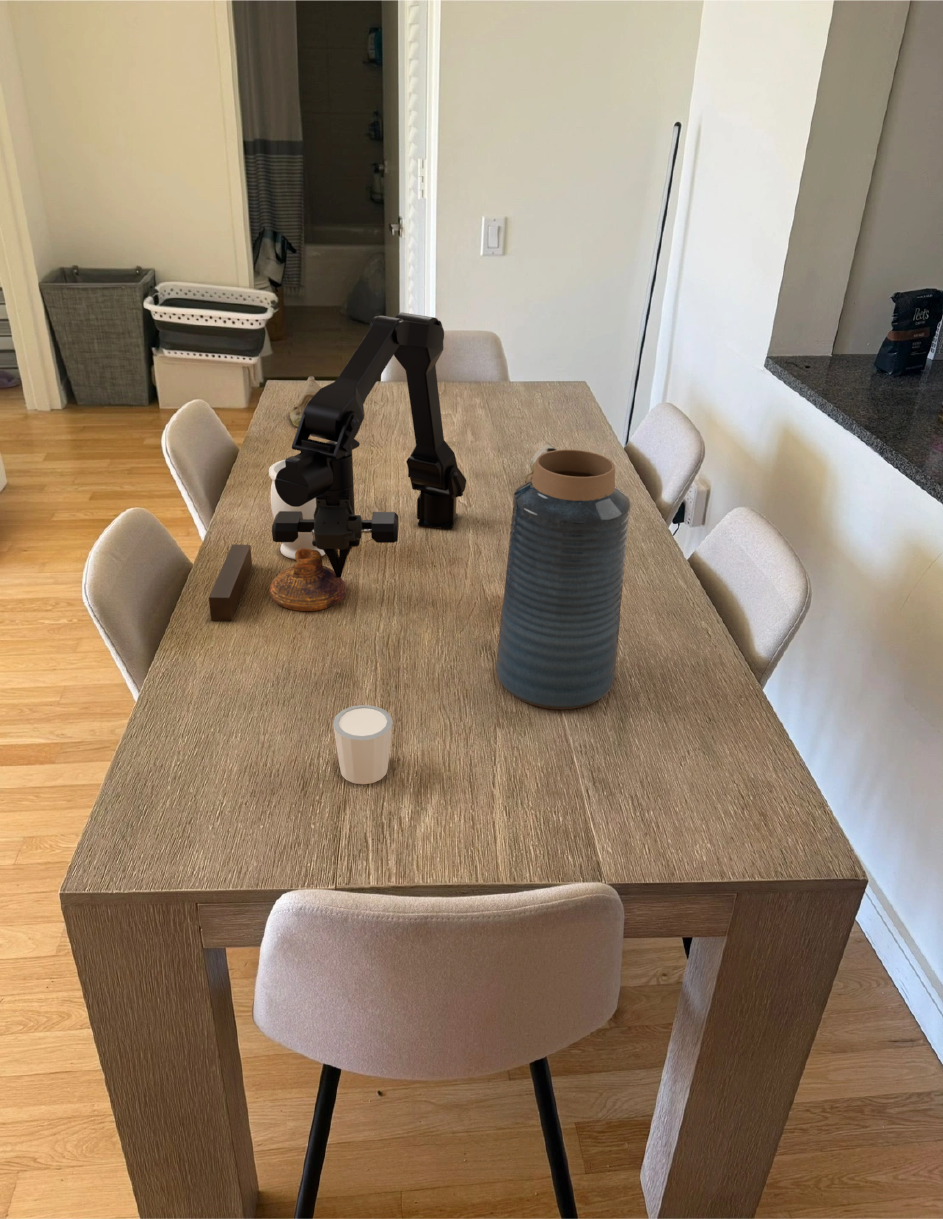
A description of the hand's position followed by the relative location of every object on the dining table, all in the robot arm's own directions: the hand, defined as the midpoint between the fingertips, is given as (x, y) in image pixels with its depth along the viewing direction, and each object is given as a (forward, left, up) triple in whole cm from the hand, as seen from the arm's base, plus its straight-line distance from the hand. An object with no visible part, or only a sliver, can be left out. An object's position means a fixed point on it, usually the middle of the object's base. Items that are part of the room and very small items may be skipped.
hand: (339, 576), depth 148 cm
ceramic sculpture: (-29, -52, -3) cm, 60 cm away
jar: (+10, -14, -3) cm, 17 cm away
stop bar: (+17, +3, -3) cm, 17 cm away
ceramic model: (+29, -82, -3) cm, 87 cm away
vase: (-35, +17, -3) cm, 39 cm away
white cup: (-14, +41, -3) cm, 44 cm away
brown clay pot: (+5, +1, -3) cm, 6 cm away
